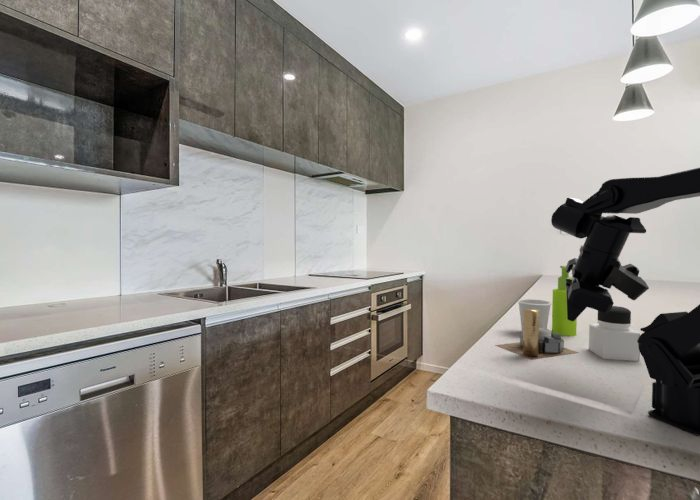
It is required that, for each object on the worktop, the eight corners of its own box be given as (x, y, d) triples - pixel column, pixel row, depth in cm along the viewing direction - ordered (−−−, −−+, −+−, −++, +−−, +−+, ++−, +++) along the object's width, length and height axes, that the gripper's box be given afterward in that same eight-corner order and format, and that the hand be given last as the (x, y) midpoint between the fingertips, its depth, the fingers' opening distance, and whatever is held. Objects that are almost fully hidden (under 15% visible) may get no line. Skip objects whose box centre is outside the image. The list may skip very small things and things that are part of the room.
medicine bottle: (640, 365, 76) (641, 310, 76) (603, 363, 78) (604, 309, 77) (621, 355, 83) (623, 304, 83) (588, 353, 85) (589, 303, 84)
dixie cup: (521, 340, 95) (521, 303, 95) (514, 332, 104) (514, 298, 103) (555, 342, 94) (556, 304, 93) (545, 334, 102) (545, 299, 101)
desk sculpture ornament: (567, 347, 85) (568, 305, 85) (549, 360, 75) (550, 313, 75) (528, 339, 91) (529, 301, 91) (507, 350, 82) (508, 308, 81)
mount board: (579, 356, 82) (579, 333, 82) (531, 364, 77) (531, 339, 77) (539, 343, 92) (539, 323, 92) (494, 349, 87) (495, 327, 87)
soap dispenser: (555, 339, 96) (557, 266, 95) (549, 333, 103) (550, 264, 102) (580, 341, 94) (582, 267, 94) (572, 334, 101) (573, 265, 100)
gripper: (670, 280, 53) (626, 362, 59) (644, 247, 69) (611, 314, 75) (586, 257, 58) (553, 335, 64) (579, 231, 73) (553, 296, 79)
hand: (570, 319), depth 70 cm, fingers closed
